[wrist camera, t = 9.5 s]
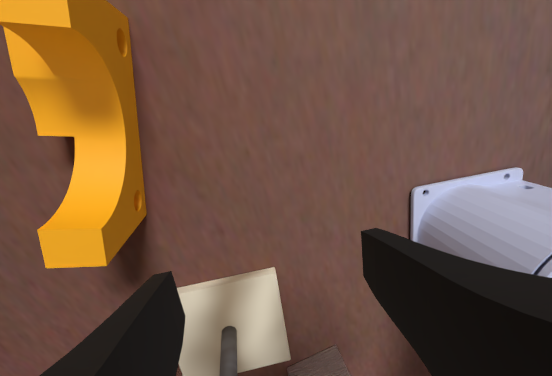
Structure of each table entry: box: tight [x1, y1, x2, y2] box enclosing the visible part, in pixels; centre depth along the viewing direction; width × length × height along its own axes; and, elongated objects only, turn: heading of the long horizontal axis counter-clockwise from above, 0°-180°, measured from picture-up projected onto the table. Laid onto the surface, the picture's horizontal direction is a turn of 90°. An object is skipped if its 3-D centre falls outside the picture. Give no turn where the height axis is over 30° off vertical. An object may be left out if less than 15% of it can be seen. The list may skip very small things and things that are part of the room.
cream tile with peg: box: [177, 267, 291, 376], centre depth 20 cm, size 9×9×5 cm
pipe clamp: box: [0, 0, 147, 268], centre depth 14 cm, size 12×4×6 cm, turn 177°
